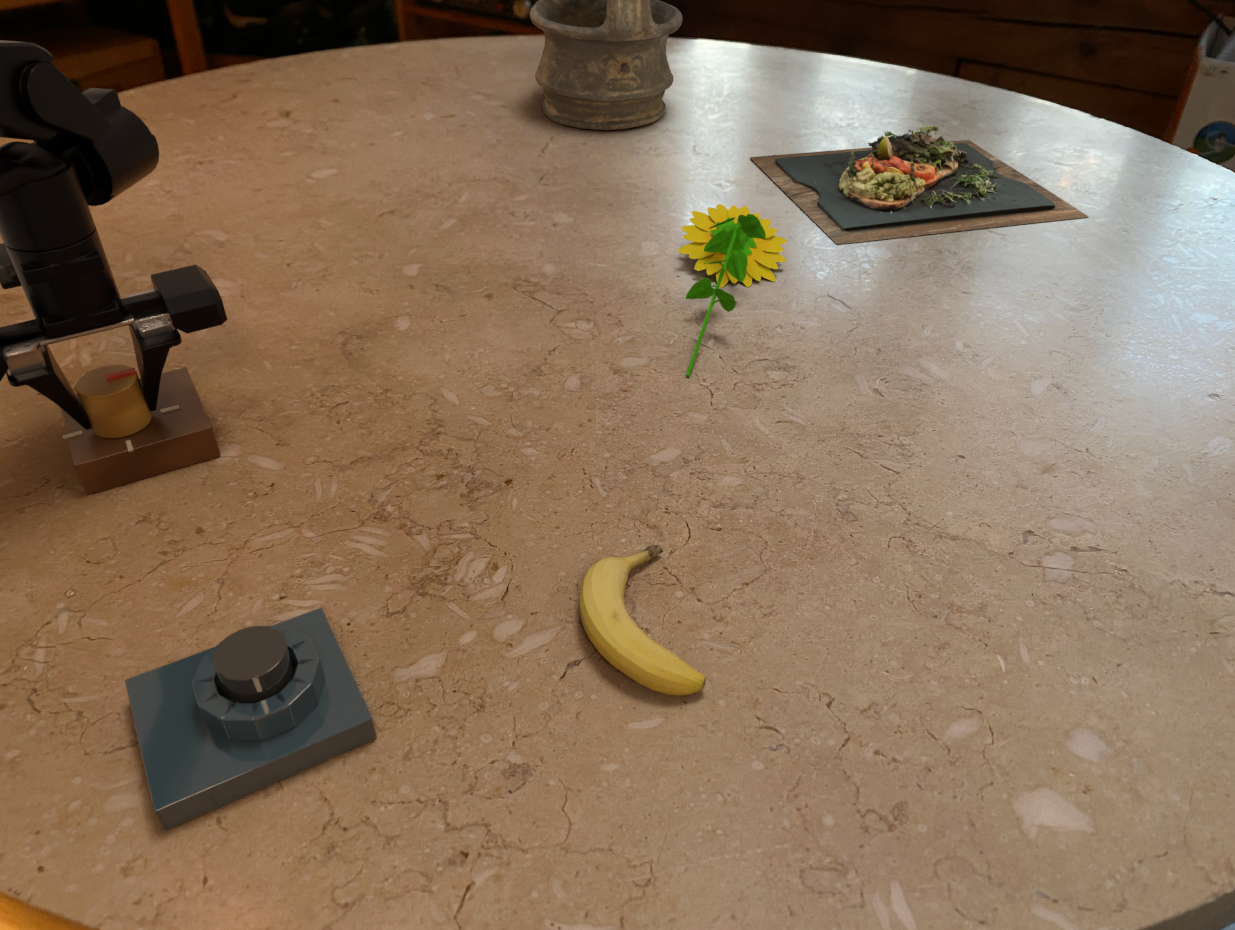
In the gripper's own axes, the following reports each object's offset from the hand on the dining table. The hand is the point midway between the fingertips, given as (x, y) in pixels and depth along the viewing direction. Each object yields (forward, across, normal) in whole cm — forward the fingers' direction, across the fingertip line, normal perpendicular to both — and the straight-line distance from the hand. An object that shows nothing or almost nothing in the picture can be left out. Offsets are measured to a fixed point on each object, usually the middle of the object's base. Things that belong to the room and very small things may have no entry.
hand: (120, 417), depth 74 cm
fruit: (+4, -25, +37) cm, 45 cm away
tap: (0, 0, 0) cm, 0 cm away
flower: (+4, -58, +4) cm, 58 cm away
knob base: (+4, -1, +31) cm, 31 cm away
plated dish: (+4, -97, -7) cm, 98 cm away
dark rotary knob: (0, -2, +31) cm, 31 cm away
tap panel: (+4, -1, -1) cm, 4 cm away
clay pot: (+4, -78, -52) cm, 94 cm away
